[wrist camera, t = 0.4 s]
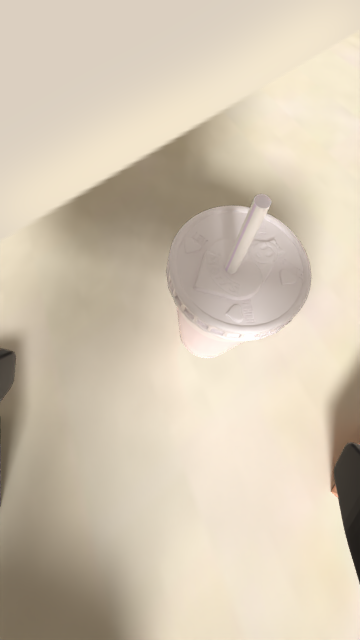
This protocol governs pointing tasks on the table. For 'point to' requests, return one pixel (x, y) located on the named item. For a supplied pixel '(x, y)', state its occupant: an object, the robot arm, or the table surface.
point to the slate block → (0, 475)
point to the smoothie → (235, 277)
